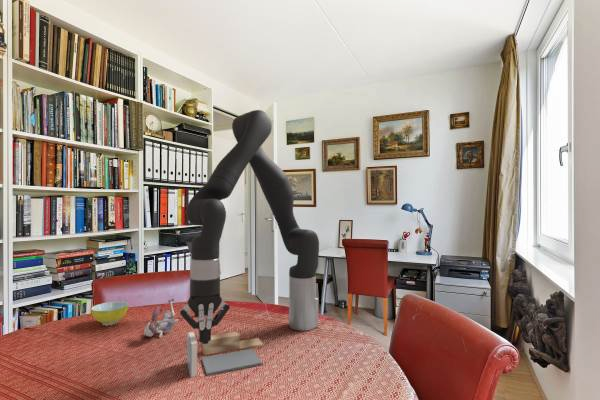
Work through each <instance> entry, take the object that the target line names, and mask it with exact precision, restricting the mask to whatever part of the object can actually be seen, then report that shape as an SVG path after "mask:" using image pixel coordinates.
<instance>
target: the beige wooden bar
mask: <svg viewBox="0 0 600 400" xmlns="http://www.w3.org/2000/svg"><path fill="white" fill-rule="evenodd" d="M263 346H264V342H262V341H261V340H260V338H259V337H255V338H250V339H244V340H241V335H240V333H239V331H233V332H226V333H219V334H214V335H212V334H211V340H210V341H208V344H202V352H203V356H209V355H212V354H214V355H215V354H218V353H225V352H229V351H233V350H239V351H243V350H248V349H253V348H258V347H259V348H260V347H263Z"/></svg>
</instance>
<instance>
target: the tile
mask: <svg viewBox="0 0 600 400" xmlns="http://www.w3.org/2000/svg"><path fill="white" fill-rule="evenodd" d="M186 334H187V335H186V337H187V339H186V344H187V346H186V347H187V348H186V349H187V351H186V354H187V357H186V358H187V359H186V363H187V369H188V372H189V377H190V378H192V377H197V376H198V342H197V338H196V335H195V332H194V331H190V332H187V333H186Z"/></svg>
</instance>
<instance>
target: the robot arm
mask: <svg viewBox="0 0 600 400" xmlns="http://www.w3.org/2000/svg"><path fill="white" fill-rule="evenodd" d="M272 125H273V124H272V121H271V118H270V116H269V115H268V114H267V112H266V111H264V110H261V109H255V110H251V111H249V112H246V113H243V114H241V115H238V116H236V117H235V118H234V119H233V120H232V124H231V129H232V133H233V137H234V138H235V140H236V144H235V145H234V146H233V147H232V148H231V149H230V151H228V152H227V153H226V155H225V156H224V157H222V159H221V160H220V161H219V162H218V164H217V165H216V167H215V168H214V169H213V171H212V173H211V175H210V176H209V178H208V180H207V182H206V183H205V184H204V185H203V186H202V187H201V188H200V189H199V190H198V191H197V192H196V193H195V194H194V195H193V196H192V197H191V199H190V200H189V202H188V203H187V206H186V210H185V216H186V219H187V221H188V222H189V223H190V224H192V225H194V226H202V228H201V232H200V234H197V235H198V236H195V237H194V238H193V239H192V245H191V253H190V255H191V257H190V258H191V259H190V266H189V267H190V268H189V297H188V301H187V304H185V305H184V306H183V307H180V308H179V314H180V316H181V317H182V318H183V319H184V320H185V321H186V322H187V324H188V325H189V326H190V327H191V328H192V329H193V330H195V329H197V330H198V339H199V343H201V344H202V345H203V344H208V341H210V340H211V336H212V328H213V327H217V326H218V325H219V324H220V322H221V321H222V320H223V318H224V317H225V316H226V314H227V312H229V310H230V308H231V307H230V304H228V303H227V302H225V301H223V298H222V296H221V263H220V242H221V238H222V235H223V231H224V227H225V223H226V219H227V211H226V208H225V207H226V206H225V204H224V203H223V202H222V200H225V199H227V198H229V197H230V195H232V193H233V191H234V189H235V187H236V185H237V184H238V181H239V179H240V177H241V176H242V174H243V172H244V171H245V169H246V168H247V166H248V164H249V165H250V167H251V169H252V172H253V173H254V176H255V177H256V180H257V181H258V184H259V186H260V188H261V191H262V193H263V196H264V198H265V200H266V202H267V204H268V205H269V208H270V210H271V213H272V214H273V217H274V219H275V222H276V224H277V226H278V229H279V233H280V235H281V239H282V242H283V245H284V247H285V249H286V251H288V253H289V254H291V255H294V256H297V260H296V264H294V265H291V266H290V267H289V270H288V277H289V278H288V283H289V284H288V285H289V286H288V291H289V292H288V310H289V311H288V314H289V315H288V327H289V328H291V329H292V330H295V331H311V330H313V329H315V328H317V327H319V298H318V297H317V270H318V267H319V256H320V255H319V254H320V240H319V236H318V233H316V232H315V231H314V230H312V229H307V228H306V229H305V228H303V229H302V228H300V226H299V224H298V222H297V220H296V217H295V215H294V203H295V202H294V198H295V197H294V196H295V195H294V190H293V187H292V185H291V183H290V180H289V179H288V176H287V174H286V173H285V172H284V170H283V169H282V168H281V167H280V166H278V165H277V163H275V162H274V161H273V160H272V159H271V158H270V157H269V156H268V155H267V154H266V152H265V151H264V149H263V146H262V145H263V144H264V143H265V142H266V140H267V139H268V138H269V136H270V135H271V132H272V129H273V126H272ZM218 308H219V310H218V311H217V309H218ZM191 311H192V312H193V313H194V315H195V314H196V315H197V316H198V317H197V321H196V320H195V319H194V318H193V317H192V316H191V315H190V314H191ZM216 311H217V312H216ZM215 313H216V314H215ZM214 314H215V315H214ZM213 315H214V317H213Z"/></svg>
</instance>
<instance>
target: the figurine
mask: <svg viewBox="0 0 600 400" xmlns="http://www.w3.org/2000/svg"><path fill="white" fill-rule="evenodd" d="M174 301H175V298H171V299H168V300H167V302H168V304H169V305H170V306H169V307H170V310H169V309H165V310H164V311H163V309H162V308H161V307H160V306H157V307H156V308H155V309H154V310H153V311H152V313H151V314H150V316H151V317H150V318H151V320H152V321H151V322H147V324H146V326H145V328H144V329H143V331H144V333H143V337H144V338H145V339H146V338H147V337H152V336H154V334H159V335H158V336H159V337H158V338H159V339H162V337H163V334H167V333H168V332H170V331H172V329H173V328H174V327H175V324H176V323H178V322H179V319H178V318H175V315H176V314H175V311H174V307H173V302H174ZM159 311H160V312H162V311H163V315H162V320H158V319H157V318H158V315H160V313H159ZM161 329H162V330H161Z"/></svg>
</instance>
